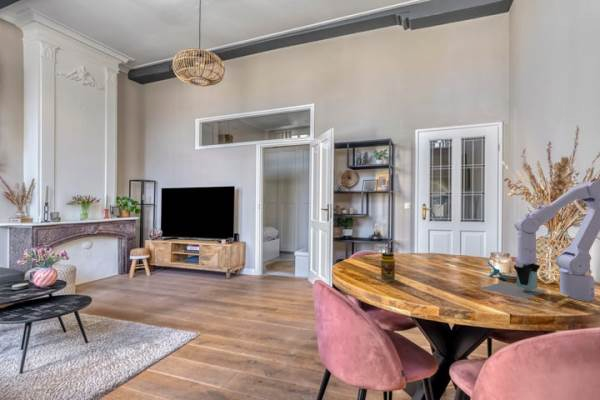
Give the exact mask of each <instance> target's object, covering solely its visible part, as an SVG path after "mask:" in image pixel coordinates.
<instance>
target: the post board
mask: <svg viewBox="0 0 600 400" xmlns="http://www.w3.org/2000/svg"><path fill="white" fill-rule="evenodd" d="M480 289H482V290H486V291H490V292H494V293H495V292H496V293H500V294H504V295H508V296H513V297H518V298H522V299H526V300H528V299H531V298H533V297H535V296H538V295H541V294H543V293H545V292H546V290H544V289H540V288H539V289H538V288H535V289H532V290H531V289H526V288H521V287H517V284H513V283H509V282H508V283H507V282H503V281H500V282H498V283H494V284H491V285H488V286H483V287H480Z"/></svg>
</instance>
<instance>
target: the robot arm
mask: <svg viewBox="0 0 600 400" xmlns="http://www.w3.org/2000/svg"><path fill="white" fill-rule="evenodd" d="M578 200H581V201H582V202H584V203H585V205H586V206H587V207H588V210H587V213H586V214H585V216H584V218H583V221H581V224H580V226H579V228H578V230H577V231H576V233H575V236H574V238H573V239H572V242H571V244H570V245H569V246H568V247H566V248H564V249H563V251H562V252H561V253H560V254H559V255H557V256H556V259H555V263H556V265H557V267H559V294H562V295H565V296H566V298H568V299H573V300H578V301H581V302H582V301H583V302H586V303H589V302H591V301H593V300H595V299H596V296H595V293H596V292H595V278H594V276H592V275H587V273H588V272H589V270H591V269H590V267H591V265H590V263H591V260H592V256H591V254H590V251H591V248H592V246H593V245H594V243H595V241H596V239H597V236H598V235H599V233H600V180H595V181H588V182H587V181H583V182H579V183H577V184H576V185H574V186H572V187H570V188H569V189H568V190H567V191H565V192H564V193H563V194H562V195H560V196H559V197H557V198H556V199H554V201H552V202H550V203H549V204H547V205H546V204H542V205H537V206H536V207H535V209H534V210H533V211H531V212H530V213H526V214H525V217H521V218H518V219H517V221H516V222H515V224H514V228H515V229H516V231H517V258H514V261H515V264H514V265H513V268H514V271H515V272H516V275H517V274H518V277H519V281H520V284H522V285H528V281H529V275H530V272H531V271H533V272H537V273H538V270H539V269H540V268H541V265H540V264H538V258H537V232H538V231H539V230H540V228H541V226H543V225H544V224H545V223H547V222H549V221H550V220H552V219H554V218H555V217H556V213H557V212H558V211H559V210H561V209H563V208H564V207H566V206H568V205H569V204H572V203H573V202H575V201H578Z"/></svg>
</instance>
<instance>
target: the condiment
mask: <svg viewBox="0 0 600 400" xmlns="http://www.w3.org/2000/svg"><path fill="white" fill-rule="evenodd" d="M394 255H395V254H394V253H393V252H382V253H381V260H380V261H381V264H380V265H381V267H380V268H381V269H380V276H377V277H376V276H374V277H375V278H376V279H379V280H381V281H385V282H393V281H398V280H400V279H399V278H396V275H395V273H396V272H395V268H396V267H395V265H396V264H395V259H394V258H395V256H394Z"/></svg>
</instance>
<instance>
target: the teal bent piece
mask: <svg viewBox="0 0 600 400" xmlns="http://www.w3.org/2000/svg"><path fill="white" fill-rule="evenodd" d="M487 265H488V266H489V267H490V268H491V269H493V271H492V272H491V273H490V274H489V275H488V277H489V278H493V276H496V275H499V276H501V278H502V279H504V280H507V278H506V277H505V276H504V275H503V274H502V273H501V270H500V269H499V268H495V266H494V265H492V264H491V263H490V262H487Z"/></svg>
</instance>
